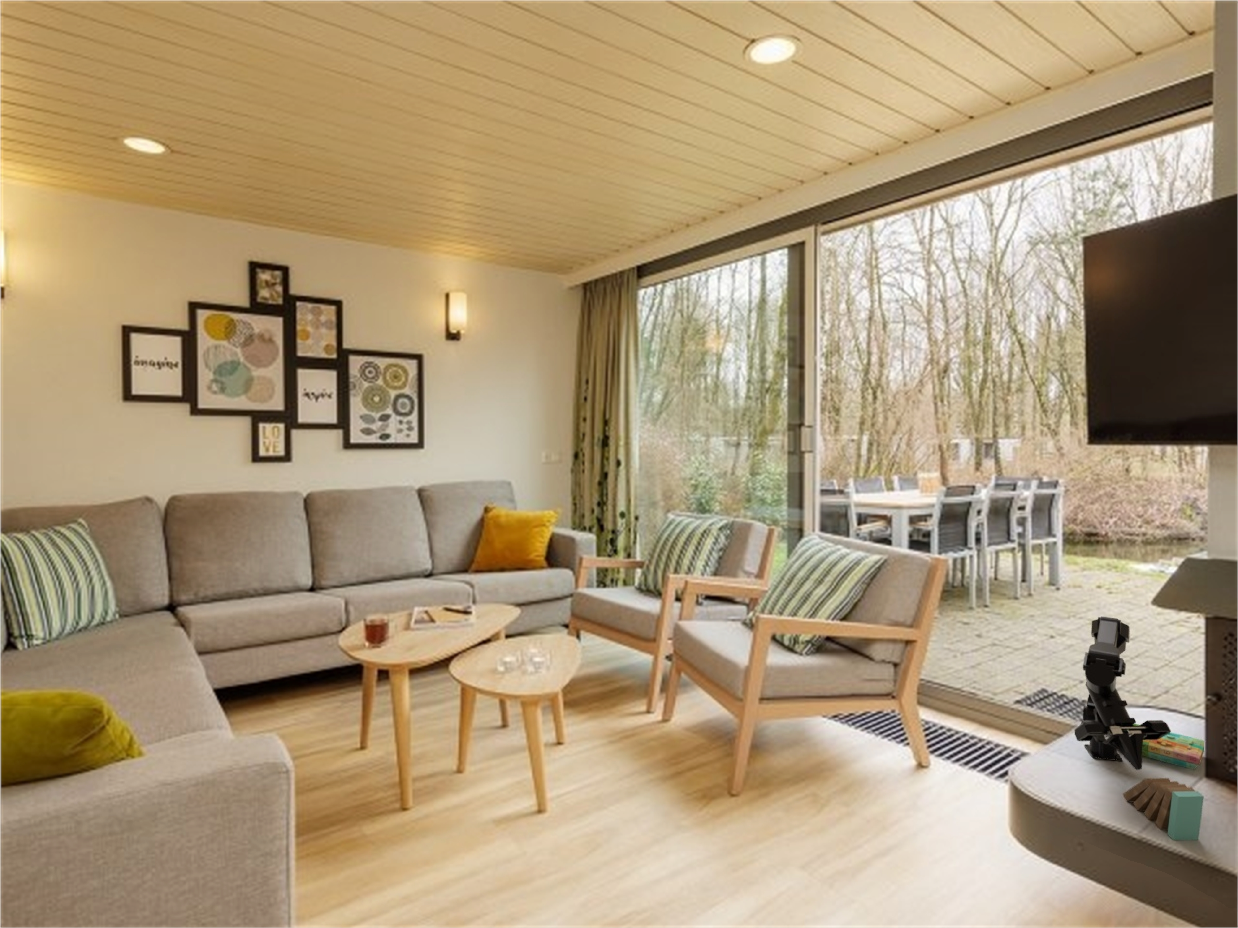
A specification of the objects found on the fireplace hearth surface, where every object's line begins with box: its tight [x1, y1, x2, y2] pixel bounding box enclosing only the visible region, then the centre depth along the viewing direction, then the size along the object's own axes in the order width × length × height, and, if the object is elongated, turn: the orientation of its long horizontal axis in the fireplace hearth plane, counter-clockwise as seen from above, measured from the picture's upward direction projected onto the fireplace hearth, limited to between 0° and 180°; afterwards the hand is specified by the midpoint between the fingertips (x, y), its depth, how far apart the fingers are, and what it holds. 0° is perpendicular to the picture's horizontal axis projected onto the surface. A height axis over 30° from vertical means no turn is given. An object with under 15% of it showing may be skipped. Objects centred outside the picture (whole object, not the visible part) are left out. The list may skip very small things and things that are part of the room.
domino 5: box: [1167, 790, 1205, 841], centre depth 142 cm, size 2×5×10 cm, turn 88°
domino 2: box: [1133, 780, 1180, 812], centre depth 150 cm, size 2×5×10 cm
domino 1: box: [1122, 777, 1171, 803], centre depth 153 cm, size 2×5×10 cm
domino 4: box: [1155, 786, 1196, 831], centre depth 144 cm, size 2×5×10 cm, turn 88°
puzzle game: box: [1127, 723, 1205, 771], centre depth 177 cm, size 12×5×20 cm
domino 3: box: [1143, 783, 1188, 821], centre depth 147 cm, size 2×5×10 cm, turn 89°
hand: (1139, 769), depth 155 cm, fingers closed
